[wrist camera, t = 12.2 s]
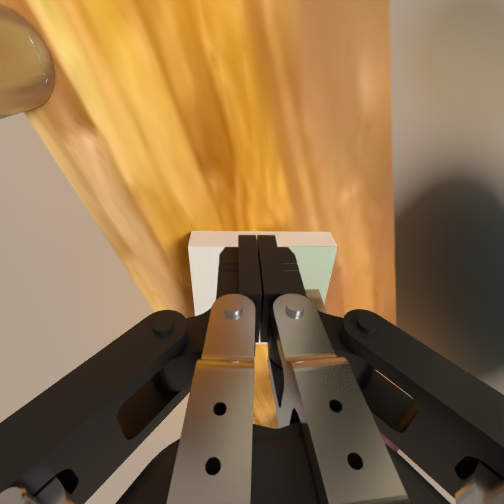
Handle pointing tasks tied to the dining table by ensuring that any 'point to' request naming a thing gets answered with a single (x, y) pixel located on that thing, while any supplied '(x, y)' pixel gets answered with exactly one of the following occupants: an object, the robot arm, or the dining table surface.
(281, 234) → the trap plank
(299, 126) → the dining table surface
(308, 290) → the walnut block
